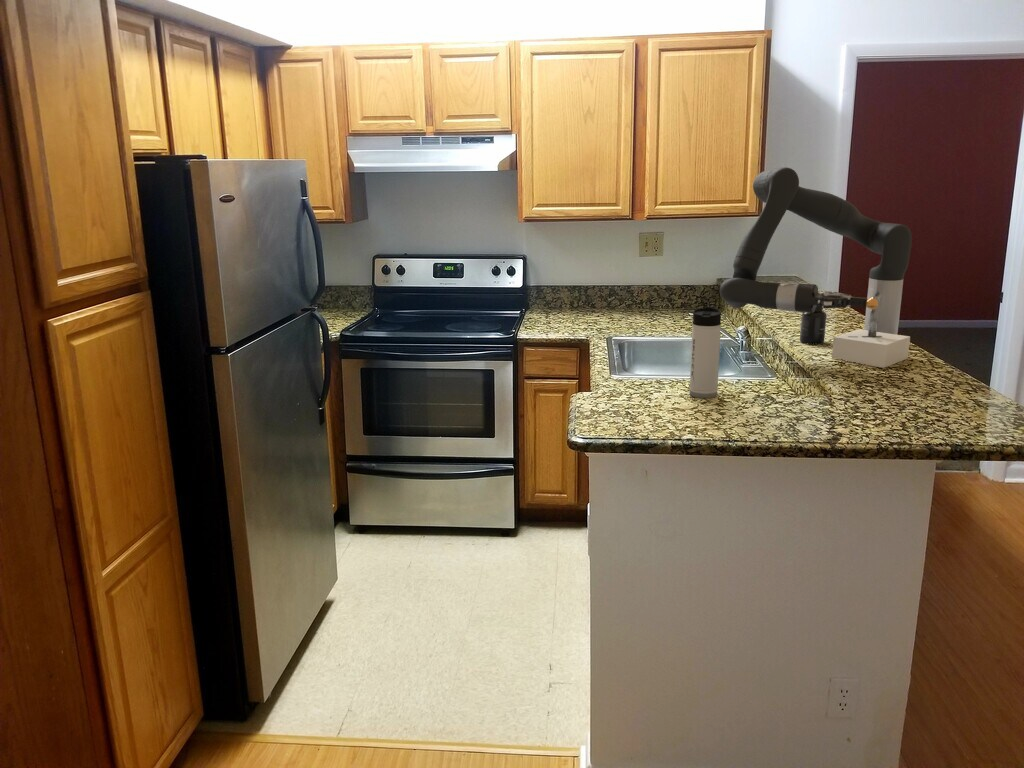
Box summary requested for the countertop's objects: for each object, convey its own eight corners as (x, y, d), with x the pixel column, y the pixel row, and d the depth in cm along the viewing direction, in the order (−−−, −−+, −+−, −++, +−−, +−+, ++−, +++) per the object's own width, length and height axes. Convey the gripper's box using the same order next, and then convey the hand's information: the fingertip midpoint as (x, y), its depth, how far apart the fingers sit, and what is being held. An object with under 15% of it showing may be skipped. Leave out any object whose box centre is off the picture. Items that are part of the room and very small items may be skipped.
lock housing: (856, 350, 224) (858, 328, 222) (907, 358, 213) (910, 336, 212) (831, 358, 215) (833, 336, 213) (883, 367, 205) (886, 344, 203)
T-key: (867, 333, 216) (871, 290, 213) (878, 333, 214) (883, 290, 211) (861, 343, 204) (865, 298, 200) (873, 344, 202) (878, 299, 199)
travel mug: (718, 391, 187) (722, 307, 182) (715, 399, 181) (720, 312, 176) (691, 389, 189) (694, 306, 184) (687, 397, 183) (691, 311, 178)
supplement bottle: (826, 345, 231) (829, 304, 227) (801, 344, 232) (804, 303, 229) (822, 340, 237) (825, 300, 234) (798, 339, 238) (801, 299, 235)
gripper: (791, 286, 206) (864, 291, 197) (803, 280, 216) (873, 284, 207) (789, 315, 208) (861, 321, 199) (801, 307, 218) (869, 313, 209)
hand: (867, 302), depth 203 cm, fingers closed
